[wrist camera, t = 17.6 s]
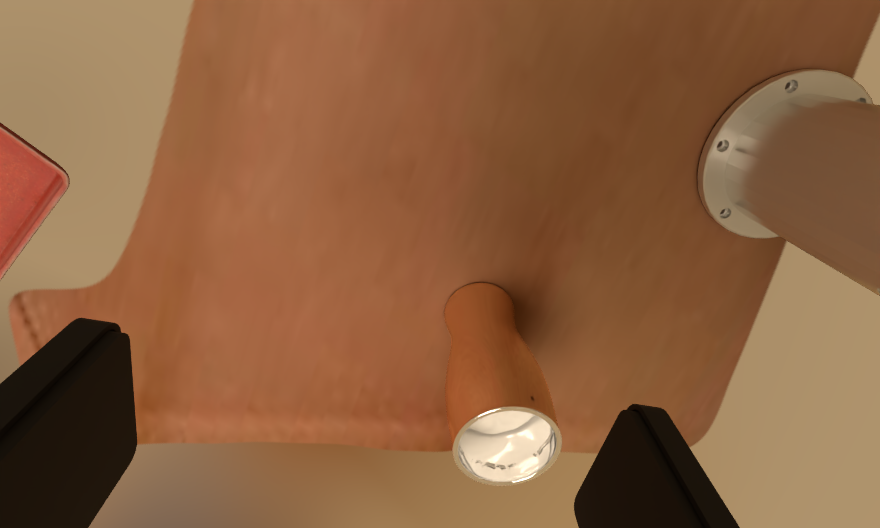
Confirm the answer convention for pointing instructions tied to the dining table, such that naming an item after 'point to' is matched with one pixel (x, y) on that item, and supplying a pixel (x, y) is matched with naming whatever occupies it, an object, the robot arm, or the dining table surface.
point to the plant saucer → (24, 193)
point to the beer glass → (496, 392)
